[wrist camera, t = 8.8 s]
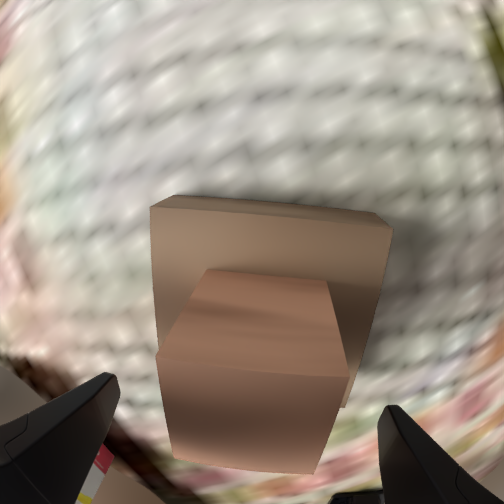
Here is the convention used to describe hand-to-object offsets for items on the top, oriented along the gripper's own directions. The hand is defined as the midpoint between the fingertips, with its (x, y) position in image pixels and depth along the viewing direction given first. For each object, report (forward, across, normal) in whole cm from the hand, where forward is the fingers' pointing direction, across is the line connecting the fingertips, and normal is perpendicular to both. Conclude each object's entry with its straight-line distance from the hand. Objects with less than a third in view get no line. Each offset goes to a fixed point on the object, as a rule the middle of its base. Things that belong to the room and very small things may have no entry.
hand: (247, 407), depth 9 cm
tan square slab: (+8, 0, 0) cm, 8 cm away
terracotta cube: (+5, 0, 0) cm, 5 cm away
